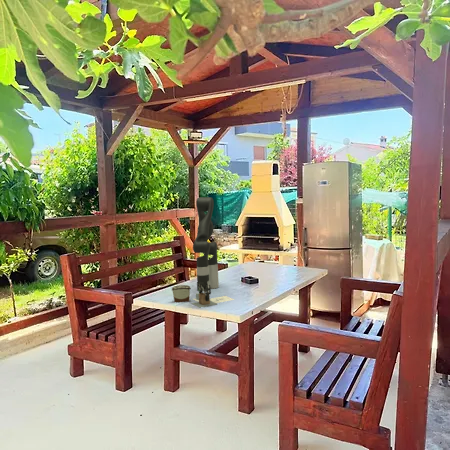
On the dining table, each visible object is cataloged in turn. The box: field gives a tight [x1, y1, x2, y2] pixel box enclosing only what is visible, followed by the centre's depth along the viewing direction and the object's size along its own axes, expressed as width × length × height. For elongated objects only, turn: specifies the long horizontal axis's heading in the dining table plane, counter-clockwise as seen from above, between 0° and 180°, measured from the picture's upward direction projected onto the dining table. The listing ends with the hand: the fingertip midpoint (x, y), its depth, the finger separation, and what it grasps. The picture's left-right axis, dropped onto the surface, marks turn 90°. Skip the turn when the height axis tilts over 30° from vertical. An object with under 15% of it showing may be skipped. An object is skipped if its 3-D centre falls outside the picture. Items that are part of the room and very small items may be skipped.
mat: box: [191, 301, 219, 309], centre depth 238 cm, size 12×12×1 cm
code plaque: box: [210, 295, 235, 304], centre depth 246 cm, size 12×16×1 cm
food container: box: [171, 284, 191, 303], centre depth 248 cm, size 12×6×10 cm, turn 92°
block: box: [198, 292, 211, 305], centre depth 238 cm, size 5×5×6 cm
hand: (204, 299), depth 238 cm, fingers open, 8 cm apart
